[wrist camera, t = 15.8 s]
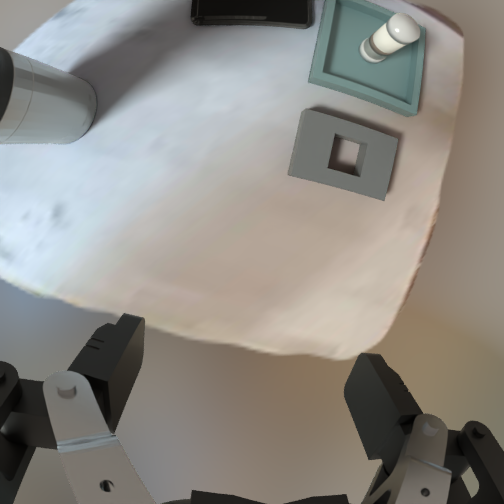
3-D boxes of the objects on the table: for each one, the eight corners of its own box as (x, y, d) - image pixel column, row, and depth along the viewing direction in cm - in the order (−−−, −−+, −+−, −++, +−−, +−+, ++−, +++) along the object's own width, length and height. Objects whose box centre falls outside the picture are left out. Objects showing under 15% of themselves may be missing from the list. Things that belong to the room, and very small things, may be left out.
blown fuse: (356, 58, 31) (390, 32, 22) (360, 37, 30) (393, 7, 21) (380, 67, 32) (419, 45, 22) (383, 46, 31) (421, 21, 21)
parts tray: (307, 82, 33) (312, 77, 30) (325, -4, 29) (330, -12, 27) (407, 117, 34) (416, 115, 32) (417, 33, 30) (425, 28, 28)
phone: (195, -21, 27) (310, -17, 28) (196, -18, 28) (309, -14, 29) (189, 24, 29) (312, 28, 30) (191, 27, 30) (310, 31, 31)
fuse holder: (287, 174, 36) (290, 175, 34) (301, 111, 34) (305, 108, 32) (376, 198, 37) (384, 201, 35) (389, 139, 35) (398, 139, 33)
